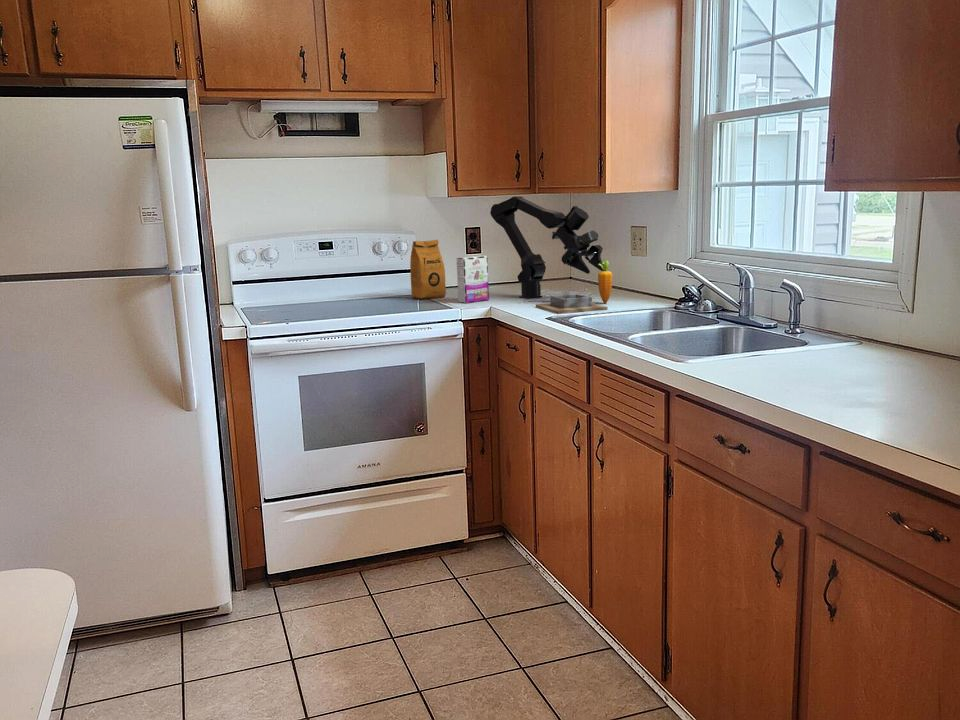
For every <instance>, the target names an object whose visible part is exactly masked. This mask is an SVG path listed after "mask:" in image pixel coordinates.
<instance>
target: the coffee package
mask: <svg viewBox="0 0 960 720" xmlns="http://www.w3.org/2000/svg"><path fill="white" fill-rule="evenodd" d="M411 246H412V247H411V252H410V262H409V263H410V267H409V268H410V288H411V298H413V299H420V300H427V299H428V300H430V299H439V298H440V299H441V298H445V297H446V296H447V295H446V294H447V288H446V287H447V286H446V285H447V284H446V271H445V270H446V269H445V264H444V260H443V257H442V254H441V251H440V248H439V239H433V240H413V242H412V245H411Z"/></svg>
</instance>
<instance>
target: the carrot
mask: <svg viewBox="0 0 960 720" xmlns="http://www.w3.org/2000/svg"><path fill="white" fill-rule="evenodd" d="M602 264H603V266H602V265H601V264H598V265H599V266H600V267H601V268H602V269H603V271H601V270H600V271H599V272H598V274H597V279H598V280H597V282H598V283H597V284H598V291H599V296H600V298H601V301H602V302H603V303H604V304H607V303H608V301H609V299H610V296H611V295H612V288H613V277H614V276H613V273H612V272H611V271H609V270H608V268H609V266H610V262H609V261H608V260H604V262H603V261H602Z"/></svg>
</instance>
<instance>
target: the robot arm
mask: <svg viewBox="0 0 960 720" xmlns="http://www.w3.org/2000/svg"><path fill="white" fill-rule="evenodd" d="M518 210H519V211H521V212H523V213H525V214H528V215H529V216H532V217H533V218H535V219H536V220H539V222H540V224H541V225H542V226H544V227H546V228H547V229H549V230H550V229H556V230H555V231H552V236H551V239H552V240H559V241H560V242H561V243H562V244H563V249H564V250H566V251H565V252H564V253H563V254H562V256H561V262H562V264H563V265H567V266H569V267H571V268H575V269H576V270H579V271H581V272H583V273H585V274H586V275H589V274H590V273H591V270H590V269H589V267H588V266H587V264H586V263H585V261H584V260H583V258H584V259H585V260H587V261H588V264H590V265H591V266H593V267H595V268H596V269H597V270H599V271H600V272H601V271H603V269H602V268H601V267H600V266H599V265H598V264H601V265H602V266H603V264H602V263H603V261H602V256H601V254H602V253H603V250H604V248H603V246H601V245H600V244H593V245H591V244H592V243H593V242H597V241H598V240H599V239H598V238H599V233H597V231H595V230H590V231H588V232H585V233H583V234H581V235H578V234H577V233H576V232H575V231H580V229H581V228H582V227H583V226H584V224H585V223H586V222H587V221H588V219H589V218H590V216H589V214H588V213H587V211H585V210H584V209H582V208H580V207H579V206H577V205H574V206H572V207H571V209H570V211H568V213H567V214H566V215H565V214H564V213H563V212H561V211H558V210H554V209H548V208H544V207H542V206H540V205H538V204H536V203H534V202H532V201H531V200H528V199H527V198H525V197H523V196H519V195H518V196H517V195H515V196H512V197H510V198H508V199H507V200H504V201H501V202H499V203H494V204H493V205H492V206H491V208H490V212H489V213H490V216H491V218H492V219H493V221H494V222H496V224H498V225H499V226H501V228H503V230H504V232H505V233H506V236H507V237H508V238H509V240H510V242H511V244H512V246H513V247H514V249H515V251H516V253H517V255H518V256H519V258H520V267H521V271H520V272H519V273H518V275H517V280H518V282H520V283H521V284H520V285H521V295H519V298H524V299H537V298H543V295H541V293H542V290H541V287H542V285H541V283H540V281H543V278H544V275H545V273H546V269H547V267H546V261H544V259H543V257H542V255H541V254H539V253H537V254H535V253H534V251H532V249H531V247H530V246H529V244H528V242H527V239H525V237H524V235H523V234H522V231H521V230H520V228H519V226H518V224H517V223H516V219H515V218H516V217H515V216H516V214H515V213H516V212H518Z"/></svg>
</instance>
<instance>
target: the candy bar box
mask: <svg viewBox="0 0 960 720" xmlns="http://www.w3.org/2000/svg"><path fill="white" fill-rule="evenodd" d="M455 259H456V275H457V276H456V277H457V278H456V279H457V296H458V297H457V299H458V303H460V304H471V303H479V302H484V301H485V302H486V301H489V300H490V293H489V291H490V290H489V286H490V285H489V266H488V256H487V255H472V256H464V257H463V256H462V257H456V258H455Z"/></svg>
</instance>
